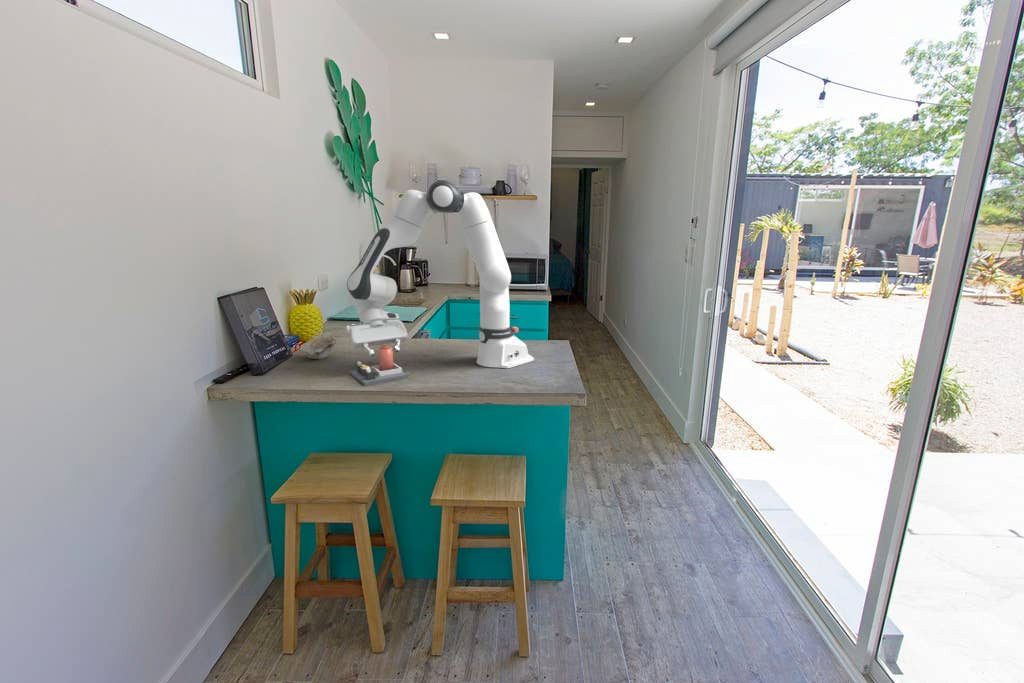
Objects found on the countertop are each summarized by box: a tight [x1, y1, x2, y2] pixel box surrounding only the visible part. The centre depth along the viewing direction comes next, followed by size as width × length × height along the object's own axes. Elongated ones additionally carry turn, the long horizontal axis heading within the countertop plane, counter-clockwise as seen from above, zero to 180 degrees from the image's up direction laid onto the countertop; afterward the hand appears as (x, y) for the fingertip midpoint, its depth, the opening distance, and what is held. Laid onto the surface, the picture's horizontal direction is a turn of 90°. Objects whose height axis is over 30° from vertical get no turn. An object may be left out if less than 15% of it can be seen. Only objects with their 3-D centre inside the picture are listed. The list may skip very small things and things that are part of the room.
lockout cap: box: [378, 344, 394, 371], centre depth 177 cm, size 5×5×9 cm
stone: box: [299, 331, 338, 360], centre depth 196 cm, size 11×14×10 cm
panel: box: [350, 361, 408, 387], centre depth 176 cm, size 15×15×5 cm
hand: (385, 353), depth 177 cm, fingers open, 8 cm apart
